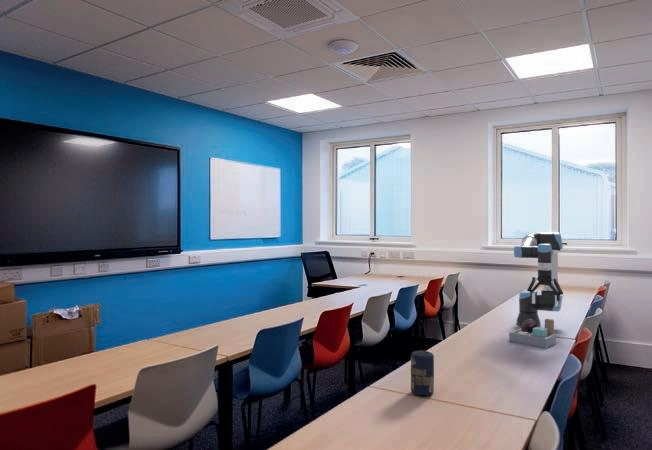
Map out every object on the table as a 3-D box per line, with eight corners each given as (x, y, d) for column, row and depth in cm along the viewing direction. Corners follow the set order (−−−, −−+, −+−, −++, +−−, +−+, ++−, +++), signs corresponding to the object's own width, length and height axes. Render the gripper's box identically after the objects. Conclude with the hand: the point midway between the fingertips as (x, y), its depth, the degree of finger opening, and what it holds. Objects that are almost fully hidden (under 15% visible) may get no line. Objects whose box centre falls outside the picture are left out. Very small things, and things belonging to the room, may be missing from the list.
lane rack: (519, 336, 281) (519, 328, 281) (555, 343, 266) (555, 334, 266) (509, 340, 272) (509, 332, 272) (546, 347, 256) (546, 339, 256)
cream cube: (519, 339, 275) (519, 331, 275) (528, 340, 272) (528, 332, 272) (517, 341, 271) (517, 333, 271) (526, 342, 268) (526, 334, 268)
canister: (408, 389, 195) (408, 347, 195) (429, 388, 196) (429, 347, 196) (414, 398, 185) (414, 354, 185) (437, 397, 186) (436, 353, 186)
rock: (518, 335, 289) (535, 337, 282) (517, 322, 289) (533, 324, 282) (525, 329, 298) (541, 331, 291) (524, 316, 297) (540, 318, 290)
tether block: (545, 338, 277) (545, 318, 277) (556, 339, 273) (556, 320, 273) (532, 344, 265) (532, 323, 264) (543, 346, 260) (543, 325, 260)
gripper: (521, 268, 280) (521, 302, 280) (563, 271, 261) (564, 308, 261) (526, 267, 285) (527, 301, 285) (569, 270, 266) (569, 306, 266)
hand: (544, 304), depth 273 cm, fingers open, 13 cm apart
